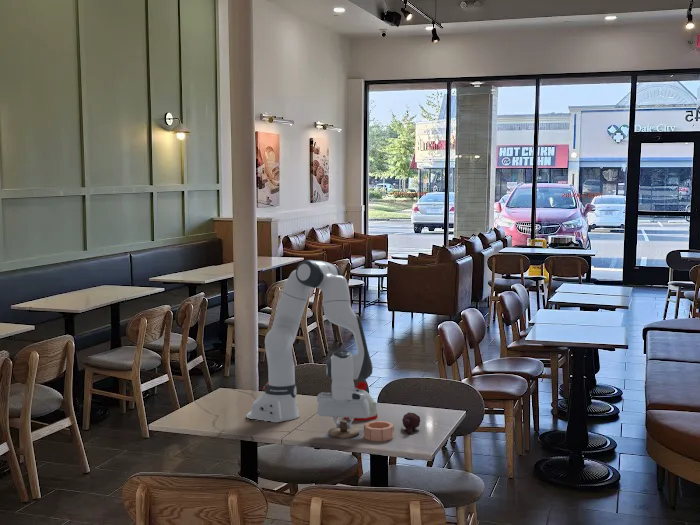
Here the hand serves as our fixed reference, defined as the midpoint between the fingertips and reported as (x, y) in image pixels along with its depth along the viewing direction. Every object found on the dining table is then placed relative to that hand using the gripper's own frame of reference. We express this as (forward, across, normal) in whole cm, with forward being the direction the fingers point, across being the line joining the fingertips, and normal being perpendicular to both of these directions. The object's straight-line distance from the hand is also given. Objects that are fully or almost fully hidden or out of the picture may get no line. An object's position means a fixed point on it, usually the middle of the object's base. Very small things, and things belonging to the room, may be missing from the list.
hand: (343, 428), depth 309 cm
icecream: (+3, +24, +12) cm, 28 cm away
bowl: (+3, +14, -1) cm, 14 cm away
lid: (+2, 0, 0) cm, 2 cm away
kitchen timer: (+3, +1, +26) cm, 26 cm away
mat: (+3, 0, 0) cm, 3 cm away
